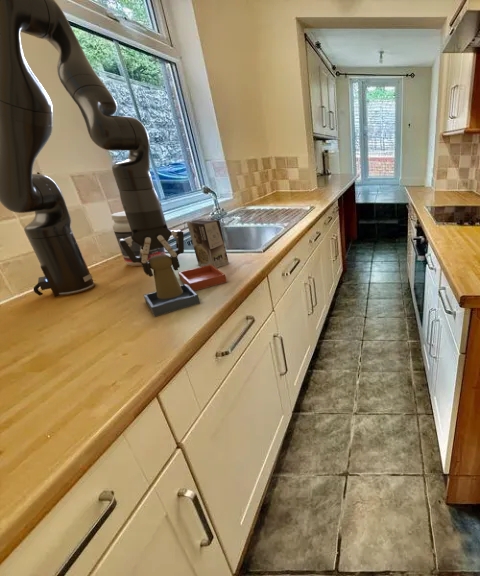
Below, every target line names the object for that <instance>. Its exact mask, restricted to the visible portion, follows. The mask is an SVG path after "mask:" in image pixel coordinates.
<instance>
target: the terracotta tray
mask: <svg viewBox="0 0 480 576" xmlns="http://www.w3.org/2000/svg"><path fill="white" fill-rule="evenodd" d="M177 274H178V278H179V280H180V281H181V282H182V283H183V285H184V284H187V285H188V286H189V287H190V288H191V289H192V290H193V291H194V292H195V291H198V290H202V289H206V288H210V287H213V286H217V285H221V284H224V283H227V282H228V281H227V277H226V274H225V273H224V272H223V271H221V270H220V269H218V268H215V267H214V266H213V265H207V266H199V267H195V268H189V269H186V270H181V271H177Z"/></svg>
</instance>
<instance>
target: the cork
mask: <svg viewBox="0 0 480 576" xmlns="http://www.w3.org/2000/svg"><path fill="white" fill-rule="evenodd" d="M148 262H149V264H150V267H151V270H152V273H153V277H154V278H153V280H154V285H155V292H157V297H158V298H160V299H169V298H173V297H176V296H179V295H181V294H182V293H183V290H182V288H181V284H180V282H179V280H178V278H177V275H176V274H175V272H174V271H175V270H174V269H173V266H172V259H171V258H170V255H168V254H166V255H156V256H153V257H151V258H150V259H149V261H148Z"/></svg>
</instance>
